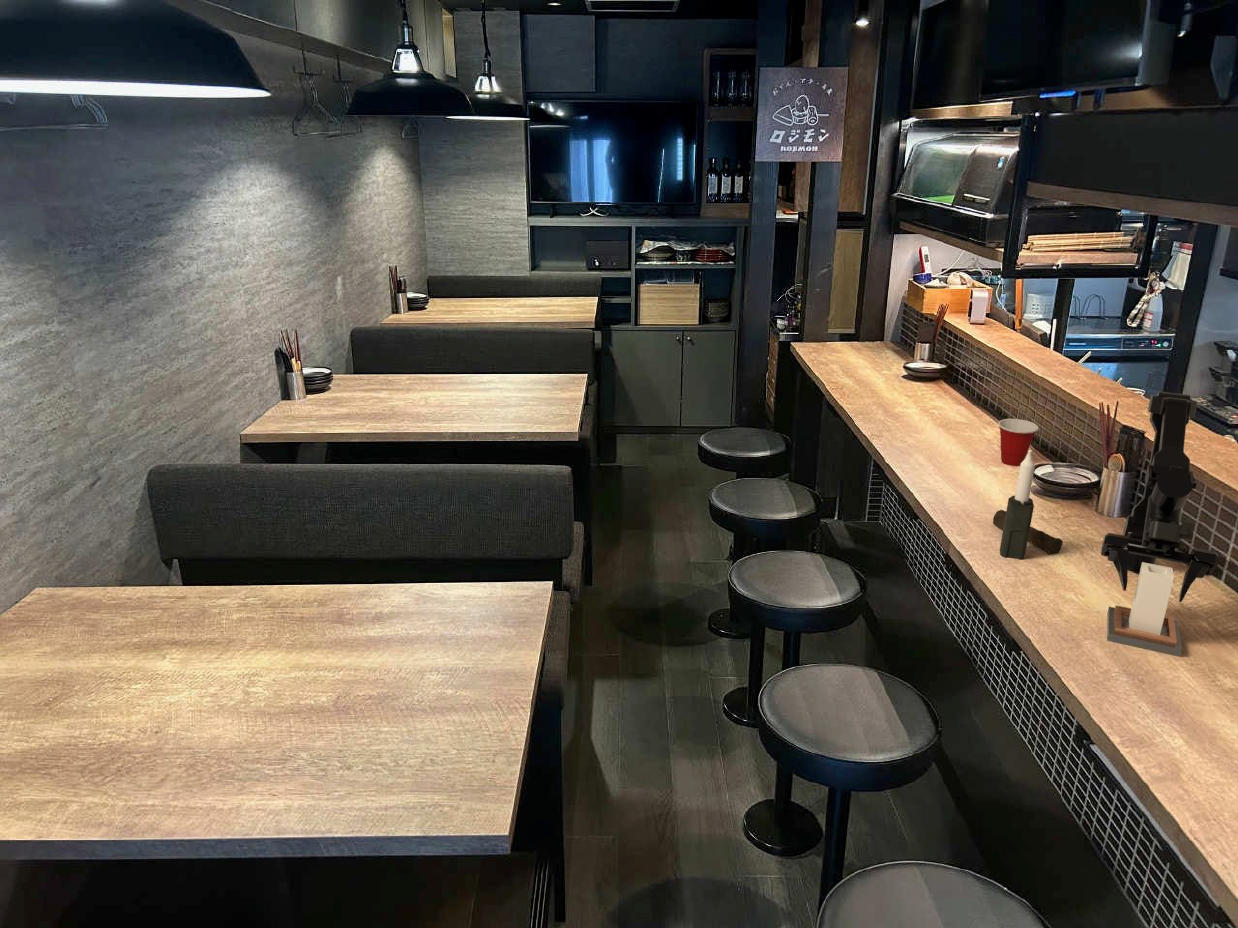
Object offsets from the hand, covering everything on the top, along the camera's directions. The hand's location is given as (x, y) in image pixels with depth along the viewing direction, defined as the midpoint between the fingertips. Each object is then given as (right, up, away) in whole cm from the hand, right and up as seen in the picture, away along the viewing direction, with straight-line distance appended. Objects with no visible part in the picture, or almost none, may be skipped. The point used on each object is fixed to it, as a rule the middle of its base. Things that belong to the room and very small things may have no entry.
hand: (1152, 595), depth 172 cm
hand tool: (-4, +6, +46) cm, 47 cm away
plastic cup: (+16, +25, +98) cm, 102 cm away
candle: (-10, +4, +38) cm, 39 cm away
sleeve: (0, -7, +4) cm, 7 cm away
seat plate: (0, -8, +4) cm, 9 cm away
